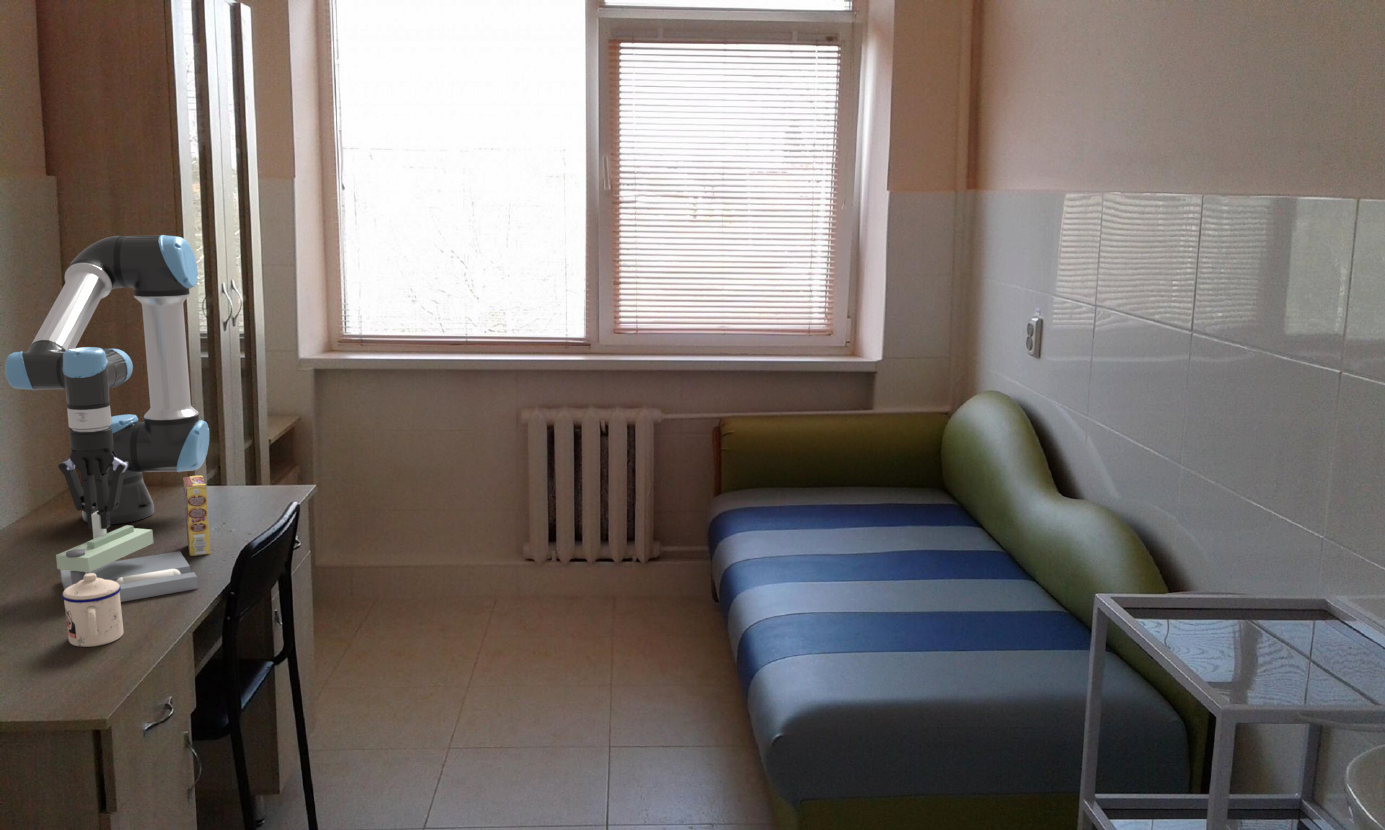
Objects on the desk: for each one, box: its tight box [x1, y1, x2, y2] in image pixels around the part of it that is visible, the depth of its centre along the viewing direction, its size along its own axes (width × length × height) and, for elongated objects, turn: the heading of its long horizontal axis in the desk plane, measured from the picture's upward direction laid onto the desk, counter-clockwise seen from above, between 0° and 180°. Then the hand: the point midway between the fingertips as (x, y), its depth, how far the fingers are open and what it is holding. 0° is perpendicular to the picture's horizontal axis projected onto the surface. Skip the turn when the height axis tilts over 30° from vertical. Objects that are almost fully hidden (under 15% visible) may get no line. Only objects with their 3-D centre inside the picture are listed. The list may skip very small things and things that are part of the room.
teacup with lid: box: [61, 573, 124, 648], centre depth 207 cm, size 12×9×12 cm
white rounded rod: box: [116, 569, 181, 585], centre depth 233 cm, size 3×12×3 cm
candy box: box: [182, 475, 211, 557], centre depth 255 cm, size 9×4×15 cm, turn 26°
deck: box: [59, 550, 199, 603], centre depth 234 cm, size 18×22×6 cm
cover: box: [55, 524, 154, 572], centre depth 233 cm, size 19×7×4 cm, turn 166°
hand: (100, 543), depth 238 cm, fingers closed
